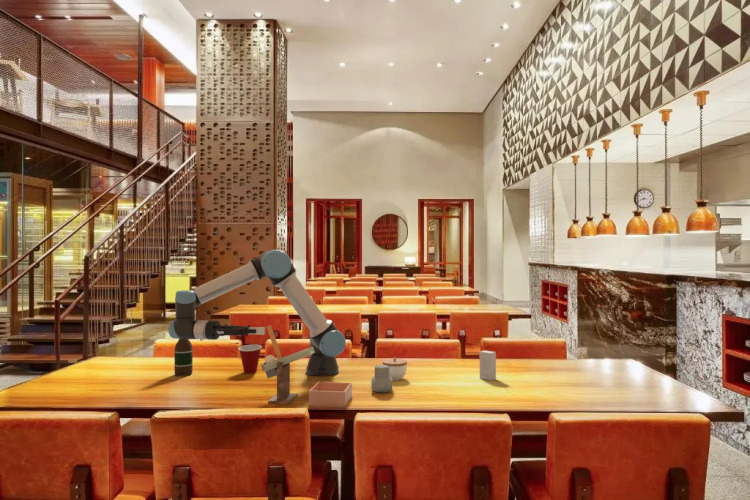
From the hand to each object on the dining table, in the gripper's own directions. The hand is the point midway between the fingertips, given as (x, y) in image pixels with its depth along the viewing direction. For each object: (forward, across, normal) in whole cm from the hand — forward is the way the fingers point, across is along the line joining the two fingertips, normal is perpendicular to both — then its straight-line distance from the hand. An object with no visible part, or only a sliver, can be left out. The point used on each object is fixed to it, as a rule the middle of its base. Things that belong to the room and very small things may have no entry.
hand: (264, 331), depth 200 cm
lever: (+13, +4, -14) cm, 19 cm away
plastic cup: (-20, -36, -25) cm, 48 cm away
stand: (+9, +6, -25) cm, 27 cm away
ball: (+4, +6, -10) cm, 12 cm away
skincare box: (+89, -37, -25) cm, 100 cm away
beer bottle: (-49, -28, -25) cm, 62 cm away
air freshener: (+45, -11, -25) cm, 53 cm away
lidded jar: (+48, -32, -25) cm, 63 cm away
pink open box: (+28, +6, -25) cm, 38 cm away
